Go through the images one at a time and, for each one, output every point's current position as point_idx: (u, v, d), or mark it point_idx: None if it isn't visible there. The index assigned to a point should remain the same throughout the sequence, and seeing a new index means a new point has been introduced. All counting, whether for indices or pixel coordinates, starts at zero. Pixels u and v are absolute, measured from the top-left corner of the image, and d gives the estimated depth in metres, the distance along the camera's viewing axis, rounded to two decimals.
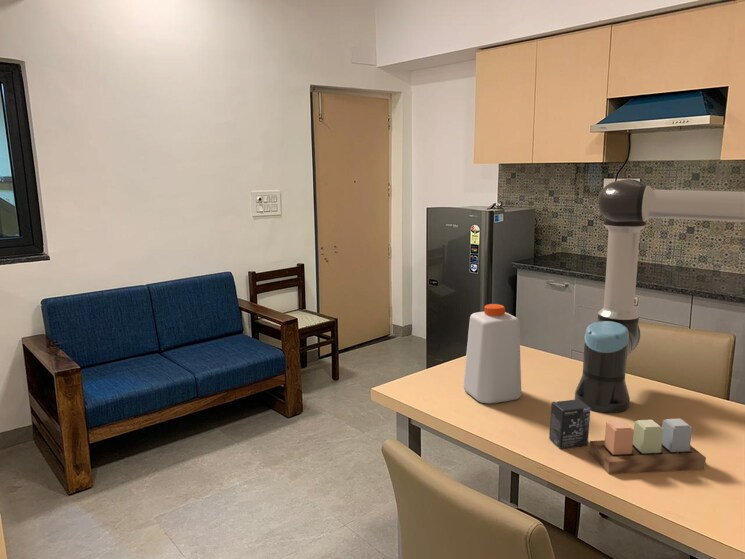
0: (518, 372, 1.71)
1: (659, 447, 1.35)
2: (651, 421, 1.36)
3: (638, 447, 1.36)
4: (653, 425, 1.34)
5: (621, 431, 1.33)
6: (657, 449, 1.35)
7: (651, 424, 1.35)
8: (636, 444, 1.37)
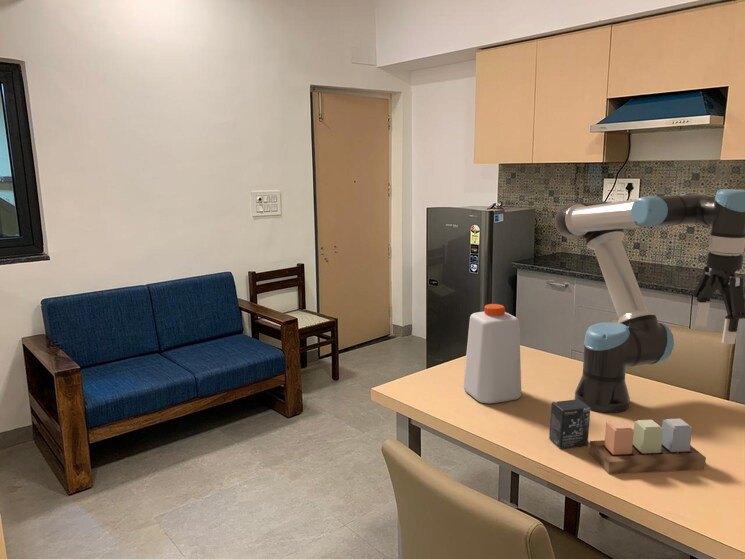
0: (518, 372, 1.71)
1: (659, 447, 1.35)
2: (651, 421, 1.36)
3: (638, 447, 1.36)
4: (653, 425, 1.34)
5: (621, 431, 1.33)
6: (657, 449, 1.35)
7: (651, 424, 1.35)
8: (636, 444, 1.37)
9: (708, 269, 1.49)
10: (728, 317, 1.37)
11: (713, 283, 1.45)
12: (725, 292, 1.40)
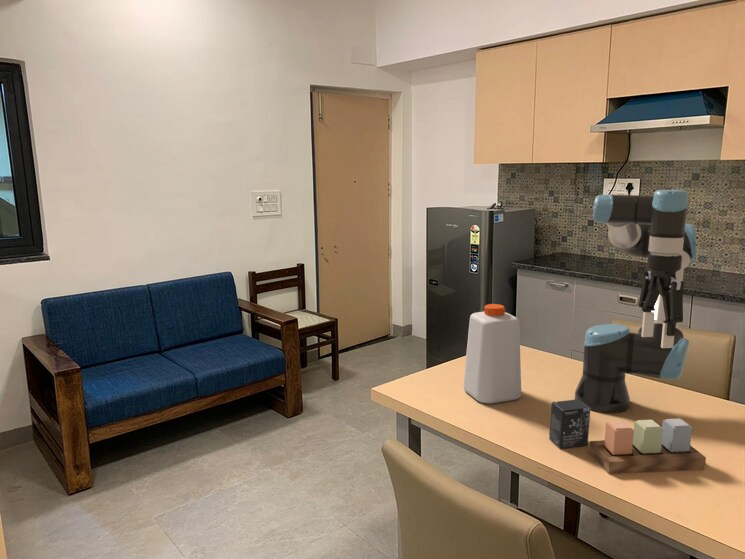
0: (518, 372, 1.71)
1: (659, 447, 1.35)
2: (651, 421, 1.36)
3: (638, 447, 1.36)
4: (653, 425, 1.34)
5: (621, 431, 1.33)
6: (657, 449, 1.35)
7: (651, 424, 1.35)
8: (636, 444, 1.37)
9: (648, 273, 1.47)
10: (666, 322, 1.38)
11: (654, 285, 1.44)
12: (665, 295, 1.39)
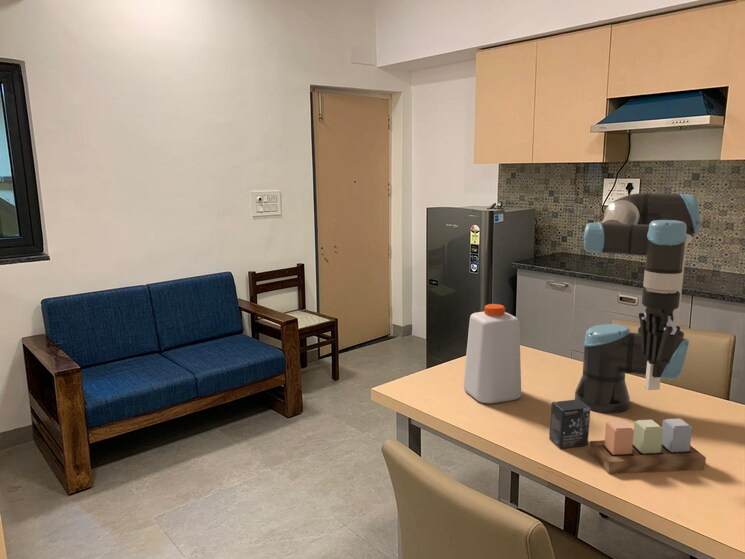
0: (518, 372, 1.71)
1: (659, 447, 1.35)
2: (651, 421, 1.36)
3: (638, 447, 1.36)
4: (653, 425, 1.34)
5: (621, 431, 1.33)
6: (657, 449, 1.35)
7: (651, 424, 1.35)
8: (636, 444, 1.37)
9: (643, 314, 1.35)
10: (651, 363, 1.30)
11: None
12: (658, 335, 1.29)
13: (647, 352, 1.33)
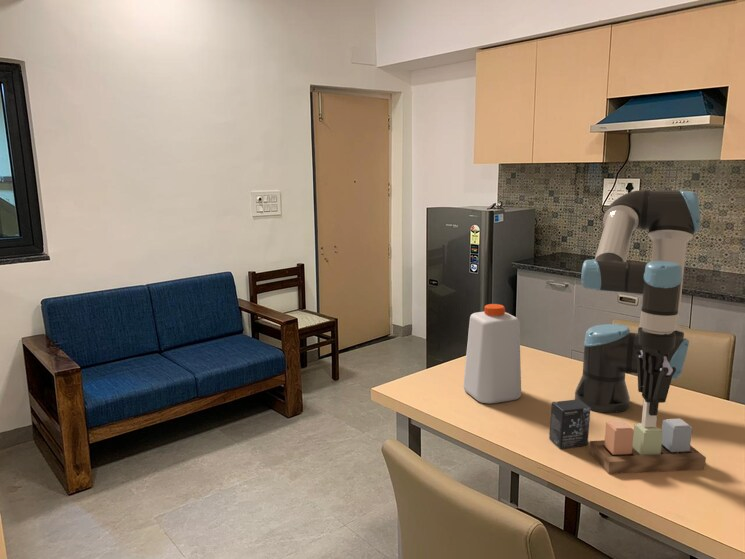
0: (518, 372, 1.71)
1: (659, 450, 1.35)
2: None
3: (638, 450, 1.36)
4: (653, 428, 1.35)
5: (621, 431, 1.33)
6: (656, 452, 1.35)
7: (651, 427, 1.35)
8: (636, 447, 1.37)
9: (640, 352, 1.37)
10: (647, 402, 1.32)
11: None
12: (654, 375, 1.31)
13: (644, 390, 1.35)
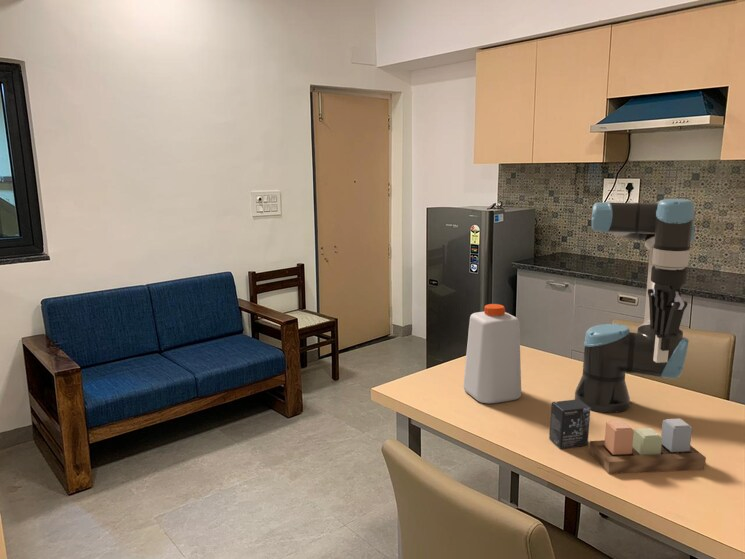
0: (518, 372, 1.71)
1: None
2: (650, 429, 1.37)
3: None
4: (652, 434, 1.35)
5: (621, 431, 1.33)
6: None
7: (650, 433, 1.35)
8: None
9: (652, 290, 1.40)
10: (659, 337, 1.36)
11: None
12: (666, 310, 1.34)
13: (655, 326, 1.38)
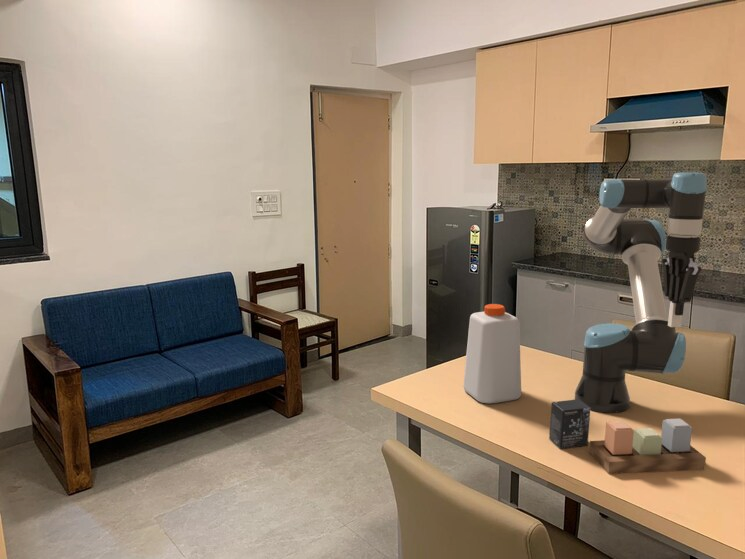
0: (518, 372, 1.71)
1: None
2: (650, 429, 1.37)
3: None
4: (652, 434, 1.35)
5: (621, 431, 1.33)
6: None
7: (650, 433, 1.35)
8: None
9: (666, 260, 1.50)
10: (674, 302, 1.45)
11: None
12: (680, 277, 1.43)
13: (670, 293, 1.47)
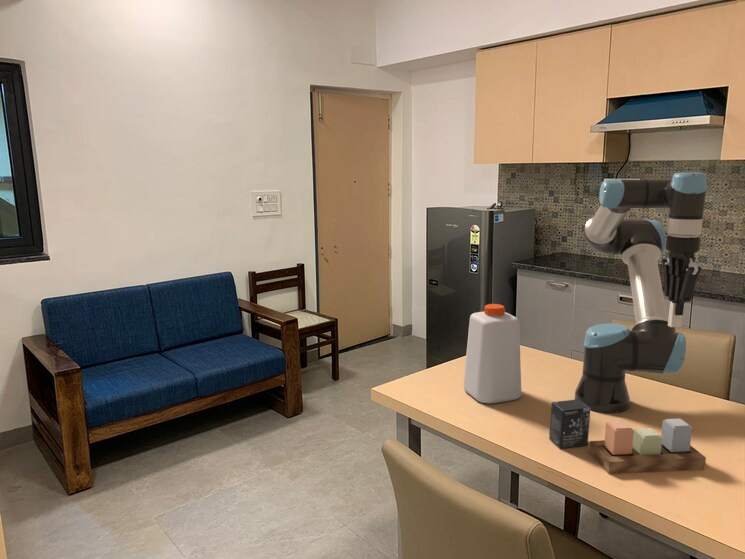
0: (518, 372, 1.71)
1: None
2: (650, 429, 1.37)
3: None
4: (652, 434, 1.35)
5: (621, 431, 1.33)
6: None
7: (650, 433, 1.35)
8: None
9: (666, 260, 1.50)
10: (674, 302, 1.45)
11: None
12: (680, 277, 1.43)
13: (670, 293, 1.47)
